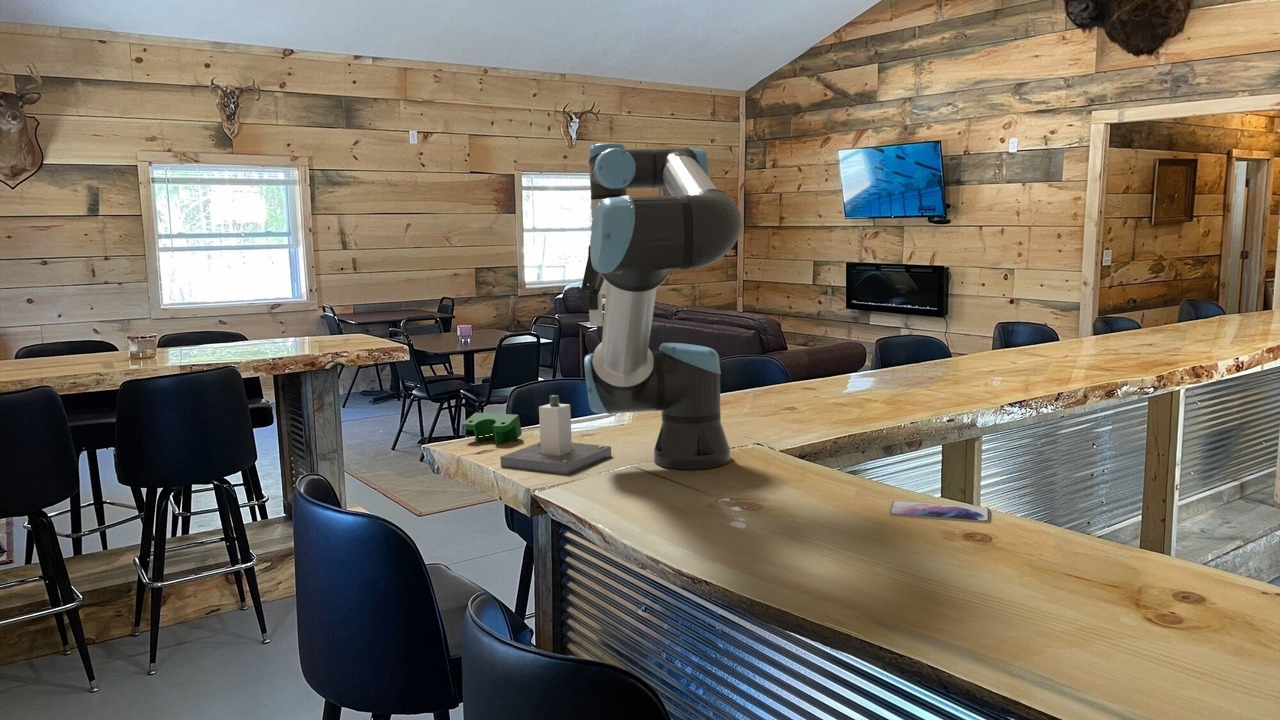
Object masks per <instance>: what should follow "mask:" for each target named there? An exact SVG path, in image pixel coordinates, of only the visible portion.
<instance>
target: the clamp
mask: <svg viewBox="0 0 1280 720" xmlns="http://www.w3.org/2000/svg"><path fill="white" fill-rule="evenodd" d="M463 424H464V428H465V429H466V430H467V431H473V433H474V434H473V435H474V438H475V443H477V444H479V443H480V442H482V441H484V440H495V441H494V442H495V444H496V445H499V444H500V443H501V442H502V441H511V442H514V441H517V440H518V438H520V437H521V436H522V426H521V421H520V415H519V414H512V413H511V414H509V413H495V412H494V413H493V412H491V413H489V412H474V413H473V414H472V415H471V416H470V417H468V418H467V419H466V420H465V421H464V422H463ZM490 434H493V435H490ZM485 435H489V436H485ZM479 436H483V437H479Z"/></svg>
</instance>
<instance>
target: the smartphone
mask: <svg viewBox="0 0 1280 720" xmlns="http://www.w3.org/2000/svg"><path fill="white" fill-rule="evenodd" d="M888 515H889V516H891V517H901V518H902V517H903V518H914V519H915V518H916V519H927V520H943V521H953V522H955V521H956V522H966V523H967V522H968V523H980V524H981V523H982V524H990V523H991V510H990V507H987V506H975V505H964V504H963V505H961V504H950V503H949V504H948V503H946V504H945V503H936V502H935V503H934V502H933V503H931V502H922V501H921V502H920V501H919V502H918V501H906V500H905V501H904V500H893V501H892V503H891V506H890V510H889V513H888Z"/></svg>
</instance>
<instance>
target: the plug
mask: <svg viewBox="0 0 1280 720" xmlns="http://www.w3.org/2000/svg"><path fill="white" fill-rule="evenodd" d="M559 397H560V396H559V395H558V394H552V395H549V403H548V404H544V405H540V406H538V414H539V415H538V416H539V417H538V418H539V419H538V420H539V439H540V440H539V442H540V445H541V454H546V455H555V456H562V455H564V454H567V453H569V452H572V443H573V442H572V439H573V438H572V418H571V417H572V416H571V404H570V403H569V404H568V403H567V404H566V403H560V398H559Z"/></svg>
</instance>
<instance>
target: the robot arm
mask: <svg viewBox="0 0 1280 720" xmlns="http://www.w3.org/2000/svg"><path fill="white" fill-rule="evenodd" d="M588 154H589V156H588V157H589V158H588V165H589V185H590V202H591V203H590V210H591V212H590V213H591V215H590V216H591V219H592V220H591V227H590V229H591V230H590V231H591V234H590V240H589V241H590V242H589V243H590V244H589V245H588V250H587V251H588V257H587V259H586V260H587V262H586V265H585V269H584V273H583V279H582V284H581V287H580V288H581V291H582V292H583V294H584V295H588V296H587V297H588V309H589V310H588V311H589V313H588V315H589V327H602V337H601V338H602V339H601V342H600V343H599V344H598V345H597V346H596V347H595V349H594V352H593V353H589V354H586V355H585V356H584V359H583V364H584V365H583V366H584V376H585V384H586V390H587V397H588V398H587V399H588V405H589V408H590V410H591V411H592V413H596V414H608V415H612V414H624V413H625V414H626V413H637V412H638V413H639V412H641V413H642V412H657V411H658V412H659V411H661V425H660V429H659V432H658V437H657V439H656V442H655V445H654V446H655V447H654V448H653V449H654V451H653V459H654V460H653V461H654V463H655V464H657V465H658V466H661V467H664V468H668V469H669V468H670V469H677V470H704V469H705V470H706V469H713V468H718V467H721V466H724V465H726V464H728V463H730V461H731V450H730V445H729V442H728V440H727V436H726V434H725V430H724V428H723V424H722V421H721V415H722V414H721V374H722V371H721V365H720V356H719V354H718V352H717V351H716V350H715V349H713V348H712V347H708V346H703V345H698V344H697V345H696V344H690V343H689V344H688V343H680V342H679V343H678V342H663V343H661V344H660V345H659V347H658V350H659V351H657V350H656V351H652V350H651V349H650V347H649V345H650V337H651V332H652V331H651V330H652V325H653V318H654V312H655V311H654V310H655V303H656V297H657V290H658V287H660V286H661V285H662V284H663V283H664V282H665V281H666V279H667V278H668V275H669V273H670V271H671V270H674V271H675V270H694V269H701V268H703V267H705V268H706V267H707V266H709V265H711V264H714V263H716V262H717V261H719V260H721V259H722V258H723V257H725V256H726V255H727V254H728V253H729V252H730V251H731V250H732V249H733V247H734V245H735V244H736V242H737V240H738V239H739V236H740V233H741V231H742V222H743V221H742V214H741V210H740V209H739V205H738V204H737V203H736V201H735V200H734V198H733V197H732V196H731V195H730V194H728V192H726V191H724V190H722V189H720V188H717V187H716V186H715V184H714V182H712V180H711V179H710V178H709V159H708V157H707V153H706V151H705V150H704V149H702V148H691V147H683V148H652V149H651V148H646V149H645V148H638V149H637V148H636V149H635V148H634V149H633V148H631V149H629V148H628V149H626V148H625V146H624V145H623V144H621V143H616V142H615V143H614V142H613V143H612V142H610V143H609V142H606V143H603V142H602V143H596V144H592V145H591V146H590V147H589V151H588ZM627 189H629V190H631V189H634V190H635V189H667V191H668V192H669V195H659V196H658V195H657V196H656V195H654V196H651V195H650V196H629V195H628V194H627ZM604 281H605V282H606V285H605V301H604V309H603V294H602V293H600V292H601V290H602V286H603V283H604ZM603 312H604V313H603Z"/></svg>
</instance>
